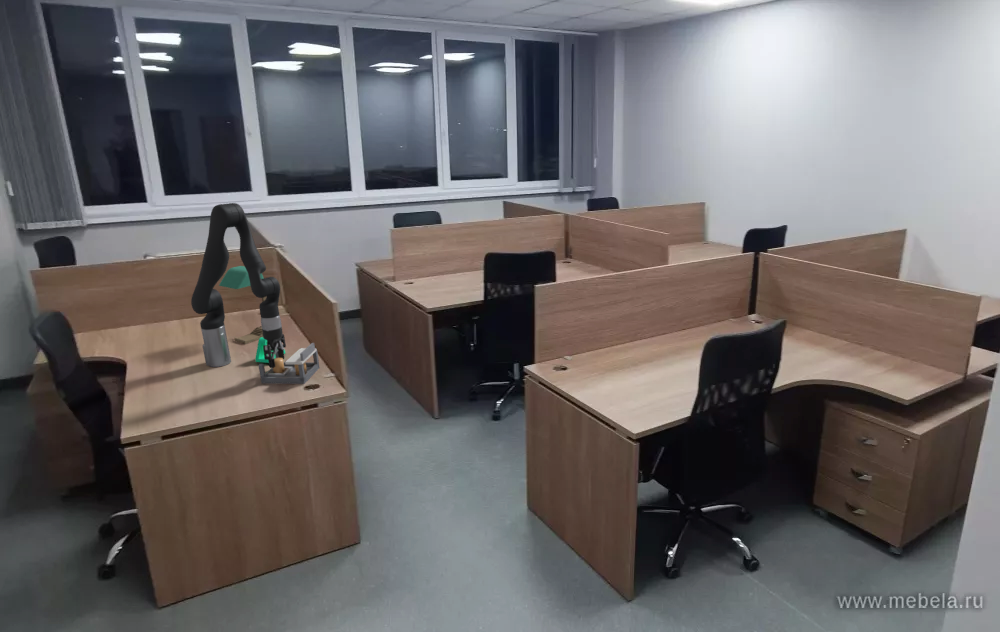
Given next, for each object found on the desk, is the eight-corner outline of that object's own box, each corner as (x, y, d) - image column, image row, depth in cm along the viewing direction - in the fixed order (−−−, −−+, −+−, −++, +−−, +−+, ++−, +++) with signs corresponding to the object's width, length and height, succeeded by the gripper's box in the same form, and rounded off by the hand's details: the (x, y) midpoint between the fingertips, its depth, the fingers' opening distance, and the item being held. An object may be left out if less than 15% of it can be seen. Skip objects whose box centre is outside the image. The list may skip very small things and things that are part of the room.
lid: (285, 364, 232) (283, 355, 231) (300, 350, 246) (299, 341, 245) (302, 364, 231) (300, 355, 230) (316, 350, 246) (315, 341, 244)
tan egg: (271, 375, 240) (269, 361, 238) (276, 370, 244) (274, 357, 242) (282, 375, 240) (280, 361, 238) (286, 370, 244) (284, 357, 242)
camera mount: (271, 365, 253) (268, 343, 250) (256, 364, 255) (252, 342, 252) (286, 354, 264) (283, 333, 261) (271, 354, 266) (268, 332, 263)
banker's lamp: (284, 333, 292) (273, 265, 281) (247, 346, 275) (235, 274, 264) (264, 328, 300) (253, 261, 289) (227, 340, 284) (214, 271, 272)
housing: (261, 383, 235) (258, 365, 233) (279, 367, 250) (276, 350, 248) (304, 383, 233) (301, 365, 231) (319, 367, 249) (317, 350, 246)
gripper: (270, 320, 242) (276, 356, 248) (254, 332, 229) (260, 370, 234) (288, 320, 242) (293, 356, 247) (272, 332, 228) (278, 370, 234)
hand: (277, 363), depth 241 cm, fingers open, 8 cm apart
